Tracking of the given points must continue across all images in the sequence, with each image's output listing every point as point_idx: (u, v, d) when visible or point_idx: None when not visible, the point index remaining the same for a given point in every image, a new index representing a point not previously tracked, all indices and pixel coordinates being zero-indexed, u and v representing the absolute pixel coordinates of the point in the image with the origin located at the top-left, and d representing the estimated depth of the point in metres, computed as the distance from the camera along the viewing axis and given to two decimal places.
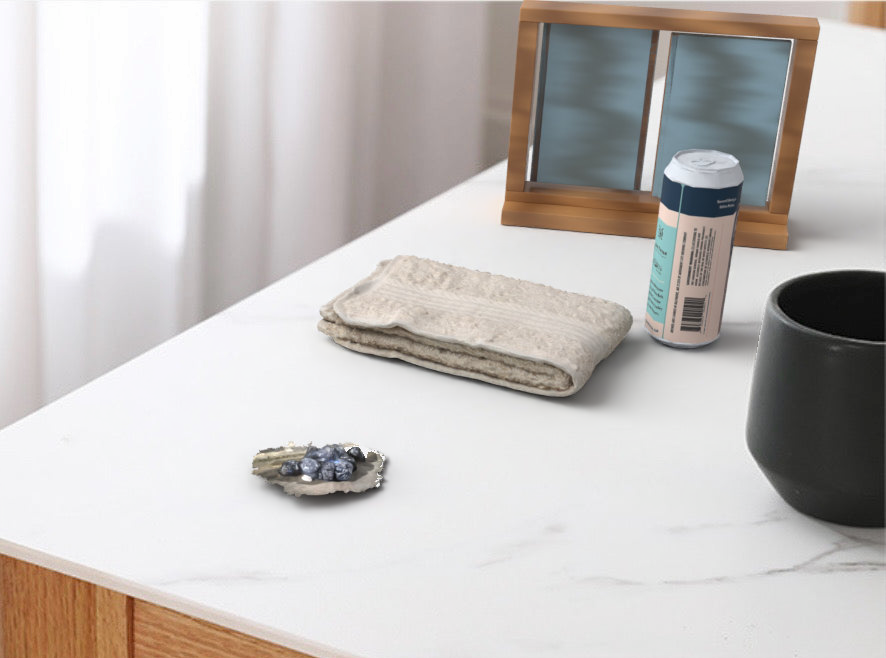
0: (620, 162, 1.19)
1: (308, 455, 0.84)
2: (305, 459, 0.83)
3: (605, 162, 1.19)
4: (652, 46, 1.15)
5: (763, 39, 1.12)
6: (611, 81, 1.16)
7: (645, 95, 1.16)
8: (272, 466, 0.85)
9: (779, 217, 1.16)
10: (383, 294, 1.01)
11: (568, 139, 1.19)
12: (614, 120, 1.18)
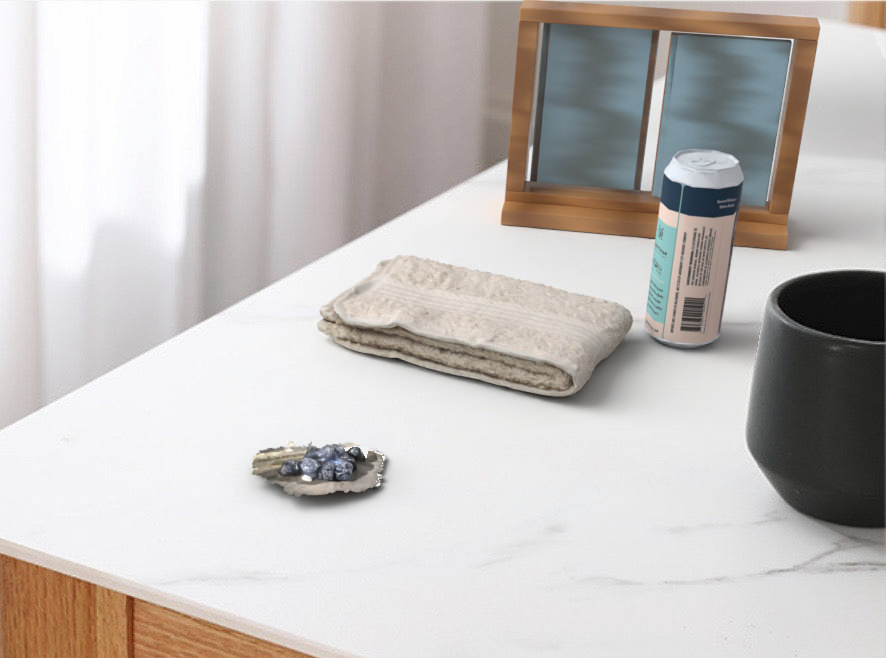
0: (620, 162, 1.19)
1: (308, 455, 0.84)
2: (305, 459, 0.83)
3: (605, 162, 1.19)
4: (652, 46, 1.15)
5: (763, 39, 1.12)
6: (611, 81, 1.16)
7: (645, 95, 1.16)
8: (272, 466, 0.85)
9: (779, 217, 1.16)
10: (383, 294, 1.01)
11: (568, 139, 1.19)
12: (614, 120, 1.18)
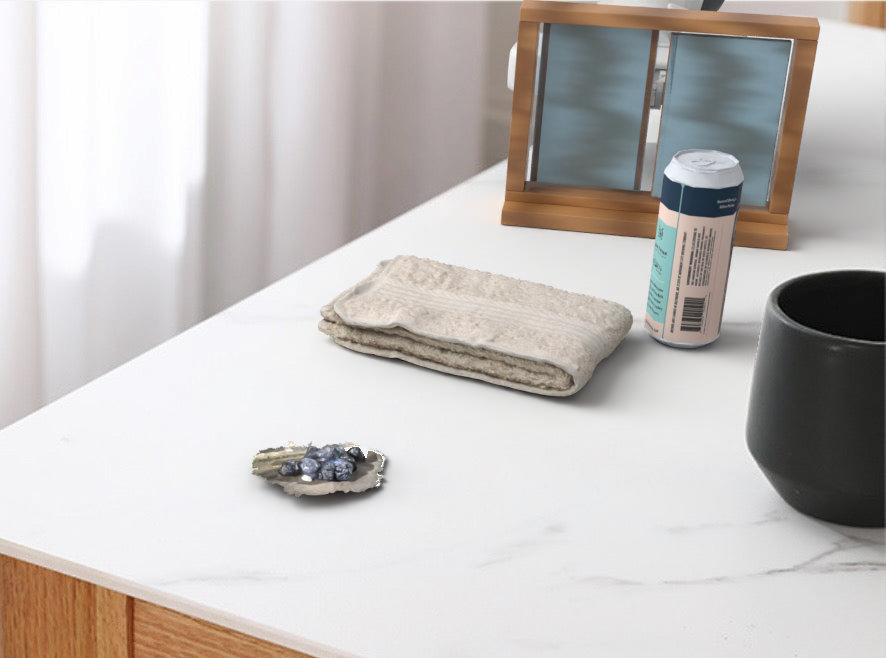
0: (620, 162, 1.19)
1: (308, 455, 0.84)
2: (305, 459, 0.83)
3: (605, 162, 1.19)
4: (651, 46, 1.15)
5: (763, 39, 1.12)
6: (611, 81, 1.16)
7: (645, 95, 1.16)
8: (272, 466, 0.85)
9: (779, 217, 1.16)
10: (383, 294, 1.01)
11: (568, 139, 1.19)
12: (614, 120, 1.18)
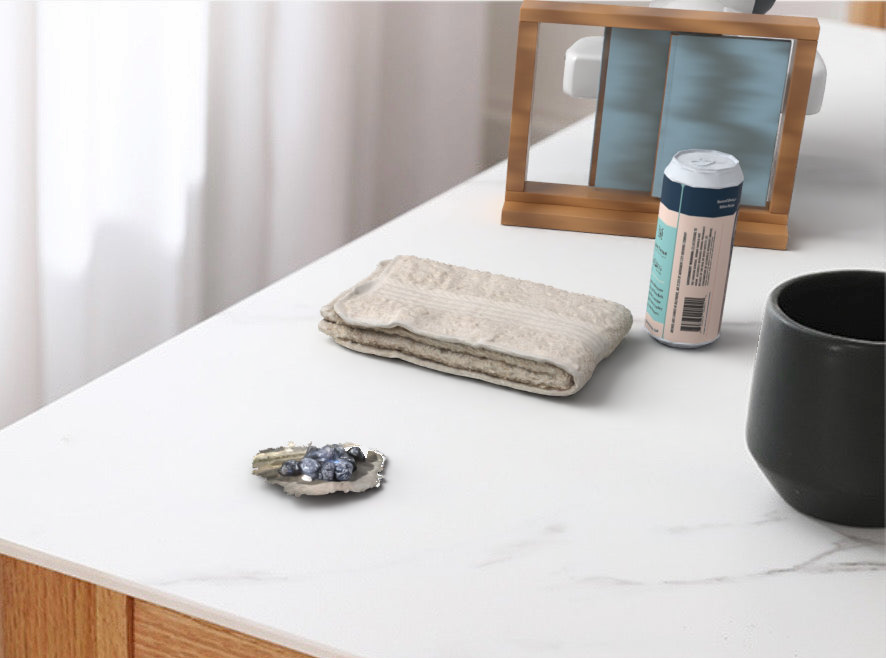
0: None
1: (308, 455, 0.84)
2: (305, 459, 0.83)
3: None
4: None
5: (763, 39, 1.12)
6: None
7: None
8: (272, 466, 0.85)
9: (779, 217, 1.16)
10: (383, 294, 1.01)
11: (627, 144, 1.18)
12: None
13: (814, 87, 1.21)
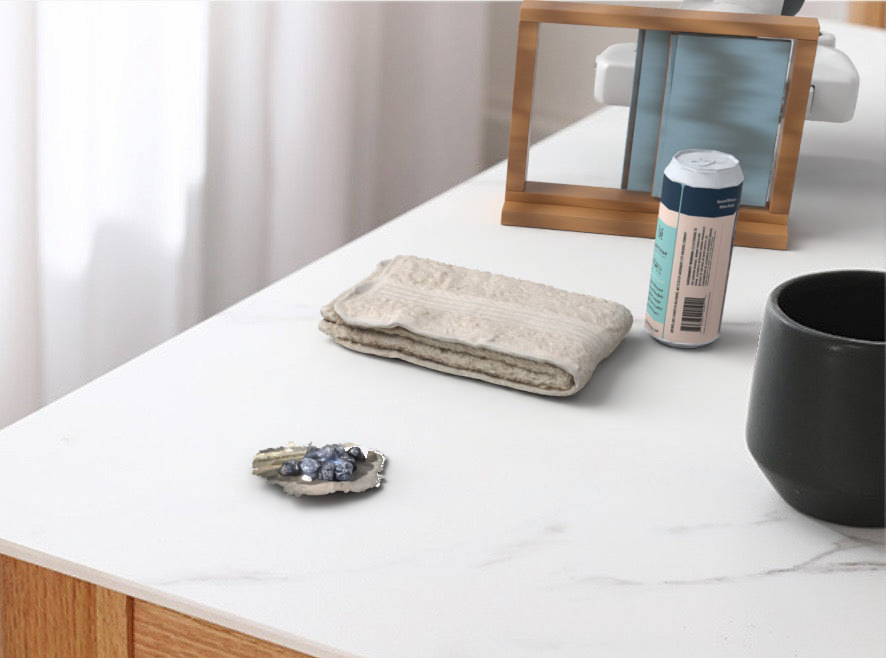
0: None
1: (308, 455, 0.84)
2: (305, 459, 0.83)
3: None
4: None
5: (763, 39, 1.12)
6: None
7: None
8: (272, 466, 0.85)
9: (779, 217, 1.16)
10: (383, 294, 1.01)
11: None
12: None
13: (846, 95, 1.21)
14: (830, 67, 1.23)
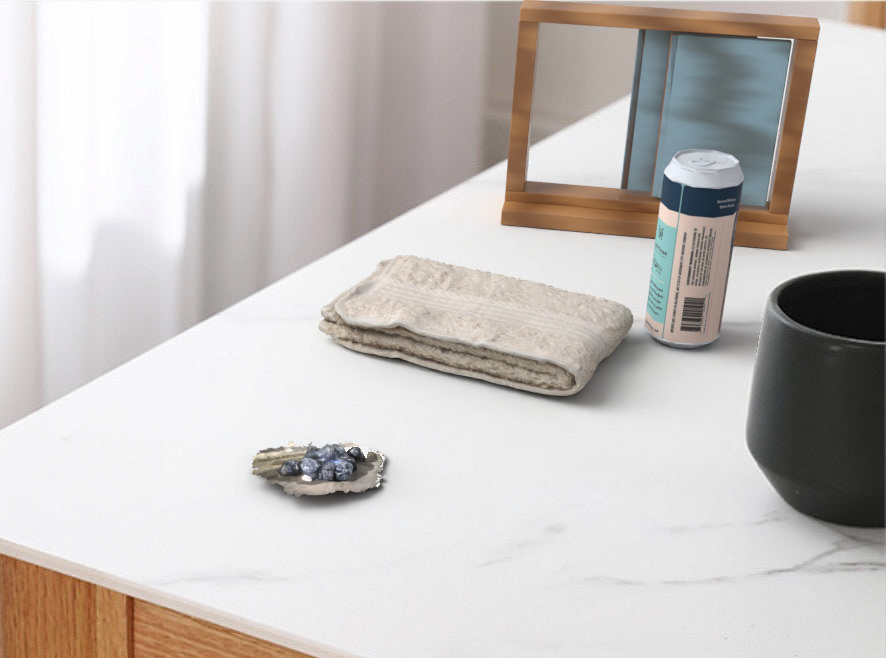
0: None
1: (308, 455, 0.84)
2: (305, 459, 0.83)
3: None
4: None
5: (763, 39, 1.12)
6: None
7: None
8: (272, 466, 0.85)
9: (779, 217, 1.16)
10: (384, 294, 1.01)
11: None
12: None
13: None
14: None
